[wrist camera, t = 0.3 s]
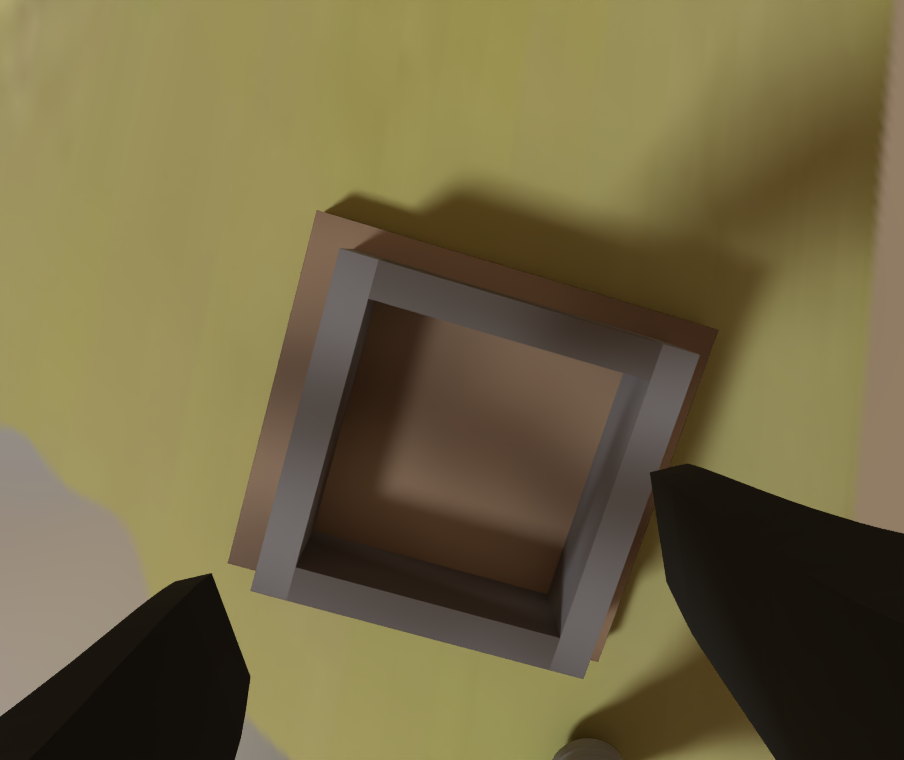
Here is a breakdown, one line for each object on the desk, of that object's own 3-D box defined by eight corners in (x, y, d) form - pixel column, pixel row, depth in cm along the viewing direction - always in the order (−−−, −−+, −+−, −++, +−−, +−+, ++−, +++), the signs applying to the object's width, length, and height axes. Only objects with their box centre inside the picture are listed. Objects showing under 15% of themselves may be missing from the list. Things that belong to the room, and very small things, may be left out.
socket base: (591, 644, 23) (617, 713, 19) (237, 549, 22) (199, 603, 19) (705, 326, 21) (756, 340, 18) (323, 212, 20) (297, 203, 17)
